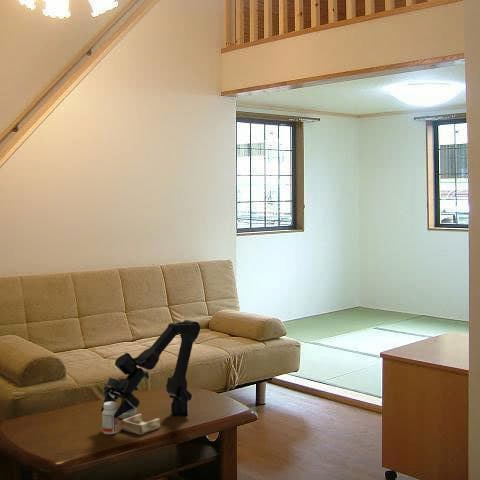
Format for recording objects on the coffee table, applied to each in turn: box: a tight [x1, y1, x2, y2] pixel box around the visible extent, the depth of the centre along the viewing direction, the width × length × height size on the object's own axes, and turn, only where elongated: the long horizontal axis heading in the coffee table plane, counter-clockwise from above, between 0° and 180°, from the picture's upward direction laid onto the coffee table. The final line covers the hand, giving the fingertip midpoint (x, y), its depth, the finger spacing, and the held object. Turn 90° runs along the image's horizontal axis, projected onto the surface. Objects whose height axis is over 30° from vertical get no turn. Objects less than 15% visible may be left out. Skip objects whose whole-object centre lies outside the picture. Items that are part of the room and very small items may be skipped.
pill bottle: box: [101, 401, 120, 435], centre depth 261 cm, size 6×6×11 cm
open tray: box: [120, 413, 161, 436], centre depth 265 cm, size 11×11×4 cm
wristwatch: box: [119, 407, 138, 420], centre depth 280 cm, size 9×6×5 cm
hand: (107, 414), depth 260 cm, fingers open, 9 cm apart
